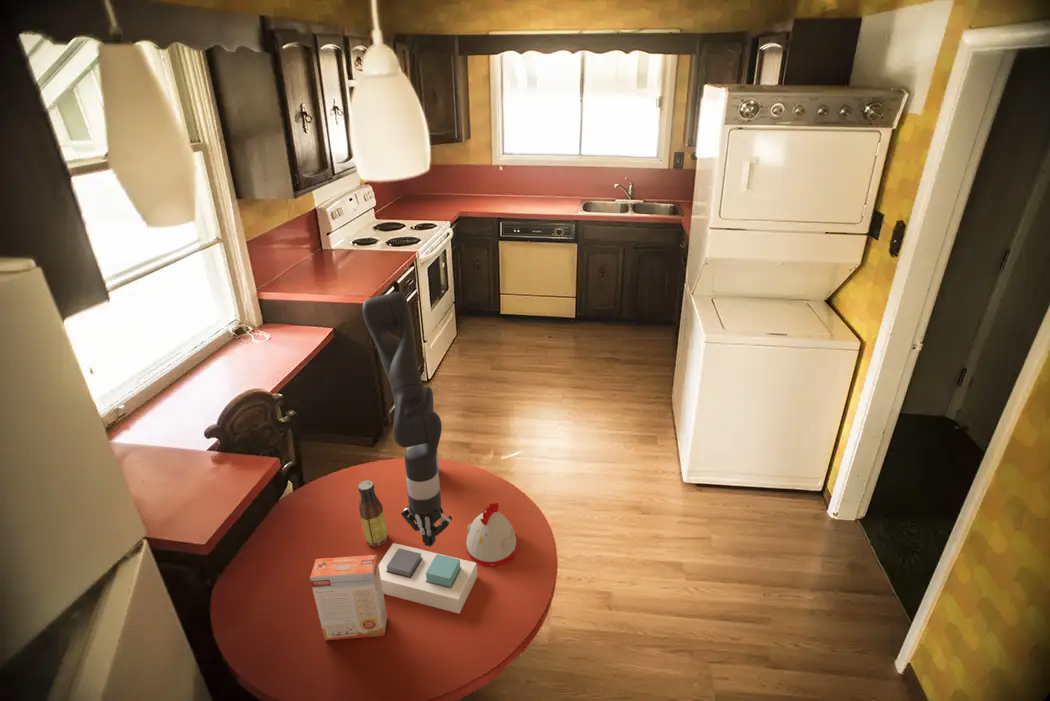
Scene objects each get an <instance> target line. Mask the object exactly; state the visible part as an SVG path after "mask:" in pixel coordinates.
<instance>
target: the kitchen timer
mask: <svg viewBox="0 0 1050 701" xmlns="http://www.w3.org/2000/svg"><path fill="white" fill-rule="evenodd" d="M466 533H467V537H466V543H465V545H466V547H465V548H466V553H467V555H468V557H469V558H470V559H471V561H472V562H474V561H475V563H476V564H478V565H480V564H481V565H480V566H486V567H497V566H500V565H503V564H505V563H506V562H508V561H510V559H512V558H513V557H514V556H515V554H516V551H517V542H518V541H517V537H516V532H515V529H514V528H513V526H512V524H511V522H510V520H508V518H507V517H506V516H505V515H504V514H502V513H501V512H500V511H499V502H492V503H491V502H490V503H489V506H486V511H482V513H480V514H478V515H477V516H476V517H475V518H474V519H473V521H472V522H471V523H469V524H468V526H467V529H466Z"/></svg>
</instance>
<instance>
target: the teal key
mask: <svg viewBox="0 0 1050 701" xmlns="http://www.w3.org/2000/svg"><path fill="white" fill-rule="evenodd" d="M439 554H440V553H437V554H436V556H435V558H434V560H433V561H432V563H431V565H430V566H429V568H428V570H427V572H426V579H427V583H431V584H435V585H439V586H443V587H446V588H450V589H451V588H452V586H453V584H454V582H455V580H456V578H457V576H458V574H459V572H460V570H461V569H460V559H461V558H458V559H455V558H456V557H454V558H451V557H452V556H450V557H447V556H448V555H446V556H443V555H444V554H442V555H439Z"/></svg>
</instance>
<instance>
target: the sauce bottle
mask: <svg viewBox="0 0 1050 701" xmlns="http://www.w3.org/2000/svg"><path fill="white" fill-rule="evenodd" d="M357 488H358V492H359V493H360V500H359V502H358V510H359V517H360V521H361V525H362V530H363V534H364V538H365V541H366V543H367V545H368V546H370V547H374V548H376V547H380V546H383V545H384V544H385V543H387V541H388V537H389V535H388V533H389V532H388V527H387V523H386V518H385V513H384V508H383V505H382V502H381V501H380V500H379V498H378V497H377V495H376V492H375V485H374V482H373V481H371V480H369V479H368V480H363V481H361V482H359V484H358V486H357Z"/></svg>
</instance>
